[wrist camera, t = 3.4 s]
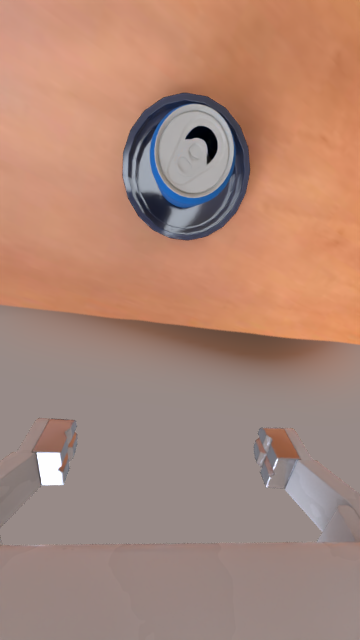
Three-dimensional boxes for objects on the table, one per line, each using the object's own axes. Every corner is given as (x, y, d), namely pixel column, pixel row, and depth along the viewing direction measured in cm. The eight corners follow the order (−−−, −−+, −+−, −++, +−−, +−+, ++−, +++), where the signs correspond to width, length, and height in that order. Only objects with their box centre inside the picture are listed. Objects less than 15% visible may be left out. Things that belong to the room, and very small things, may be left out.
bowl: (125, 230, 31) (120, 232, 28) (129, 96, 26) (125, 82, 23) (229, 243, 32) (235, 246, 29) (253, 116, 27) (263, 105, 24)
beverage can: (225, 176, 29) (258, 152, 18) (185, 220, 31) (194, 223, 20) (184, 128, 27) (194, 68, 16) (145, 177, 29) (129, 154, 18)
